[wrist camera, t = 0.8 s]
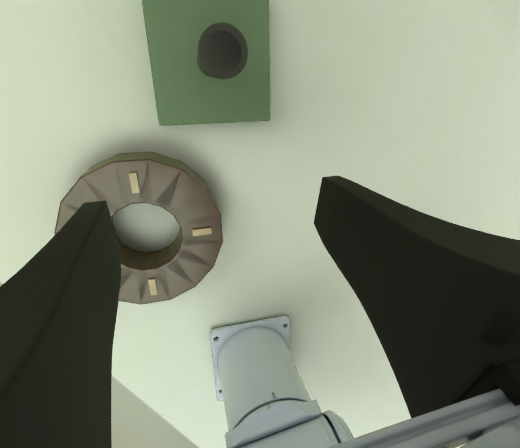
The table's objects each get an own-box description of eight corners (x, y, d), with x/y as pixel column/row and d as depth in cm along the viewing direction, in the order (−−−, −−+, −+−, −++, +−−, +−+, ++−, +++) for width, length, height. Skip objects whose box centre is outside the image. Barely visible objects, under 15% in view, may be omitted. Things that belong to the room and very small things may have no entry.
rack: (266, 119, 25) (295, 127, 19) (160, 124, 23) (155, 134, 17) (264, -3, 22) (298, -40, 16) (141, -8, 20) (127, -52, 14)
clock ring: (221, 272, 29) (226, 292, 26) (88, 292, 27) (77, 316, 24) (211, 147, 25) (216, 154, 22) (51, 157, 22) (33, 167, 19)
